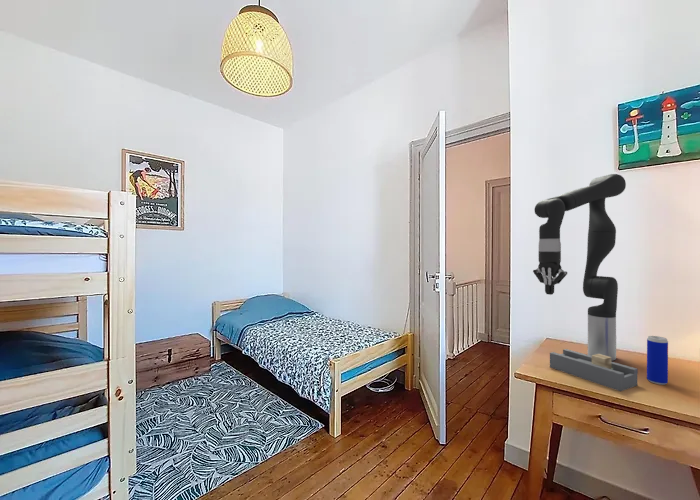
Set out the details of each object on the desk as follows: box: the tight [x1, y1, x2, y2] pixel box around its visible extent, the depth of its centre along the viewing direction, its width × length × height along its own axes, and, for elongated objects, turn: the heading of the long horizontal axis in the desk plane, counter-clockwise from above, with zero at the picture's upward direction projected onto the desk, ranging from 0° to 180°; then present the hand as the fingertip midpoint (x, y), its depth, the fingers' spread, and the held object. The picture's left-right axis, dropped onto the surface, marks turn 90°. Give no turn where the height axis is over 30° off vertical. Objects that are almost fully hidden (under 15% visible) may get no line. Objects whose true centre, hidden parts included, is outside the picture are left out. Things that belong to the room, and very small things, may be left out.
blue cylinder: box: [646, 335, 669, 386], centre depth 110 cm, size 5×5×15 cm
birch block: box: [592, 354, 612, 369], centre depth 113 cm, size 4×4×4 cm
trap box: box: [549, 348, 639, 392], centre depth 116 cm, size 10×23×6 cm, turn 25°
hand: (549, 294), depth 129 cm, fingers closed
